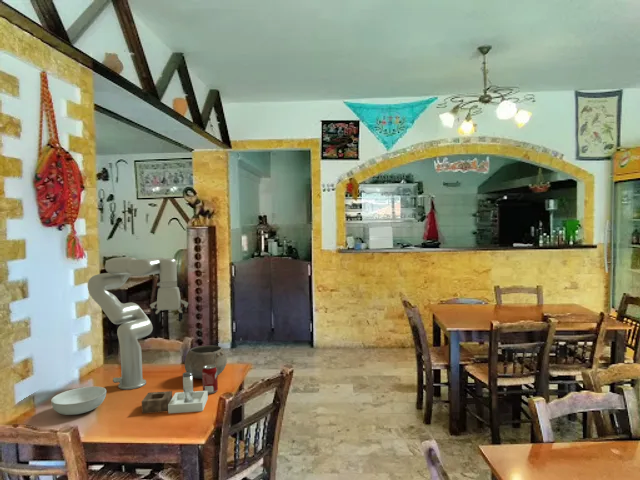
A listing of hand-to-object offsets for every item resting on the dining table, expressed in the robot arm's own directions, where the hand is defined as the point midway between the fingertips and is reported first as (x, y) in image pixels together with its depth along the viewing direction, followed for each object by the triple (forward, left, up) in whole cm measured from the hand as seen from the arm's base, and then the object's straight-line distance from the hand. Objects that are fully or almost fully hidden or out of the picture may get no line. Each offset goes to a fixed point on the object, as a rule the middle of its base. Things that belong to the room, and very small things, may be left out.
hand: (169, 321), depth 209 cm
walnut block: (-2, -19, -33) cm, 38 cm away
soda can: (+18, -4, -33) cm, 38 cm away
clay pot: (+13, +17, -33) cm, 40 cm away
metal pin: (+11, -19, -32) cm, 39 cm away
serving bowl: (-35, -16, -33) cm, 51 cm away
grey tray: (+11, -19, -33) cm, 40 cm away
